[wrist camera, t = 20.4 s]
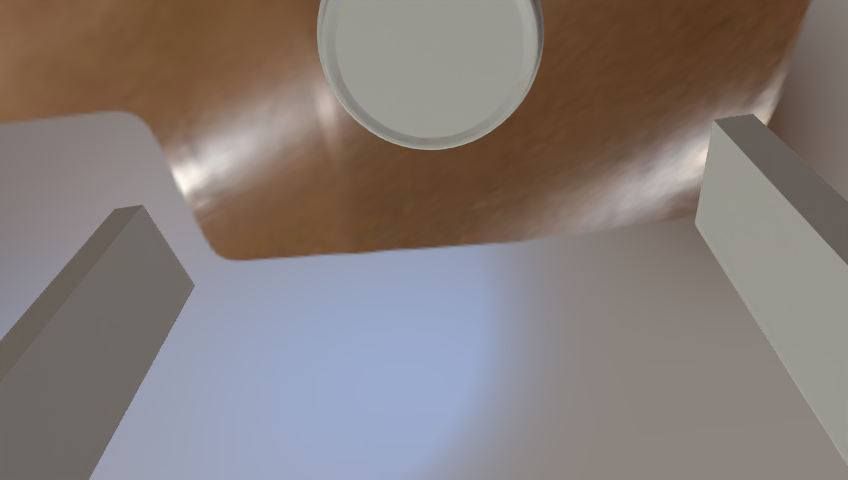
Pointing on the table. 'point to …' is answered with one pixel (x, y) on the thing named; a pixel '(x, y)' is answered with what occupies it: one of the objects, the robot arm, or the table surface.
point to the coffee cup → (430, 65)
